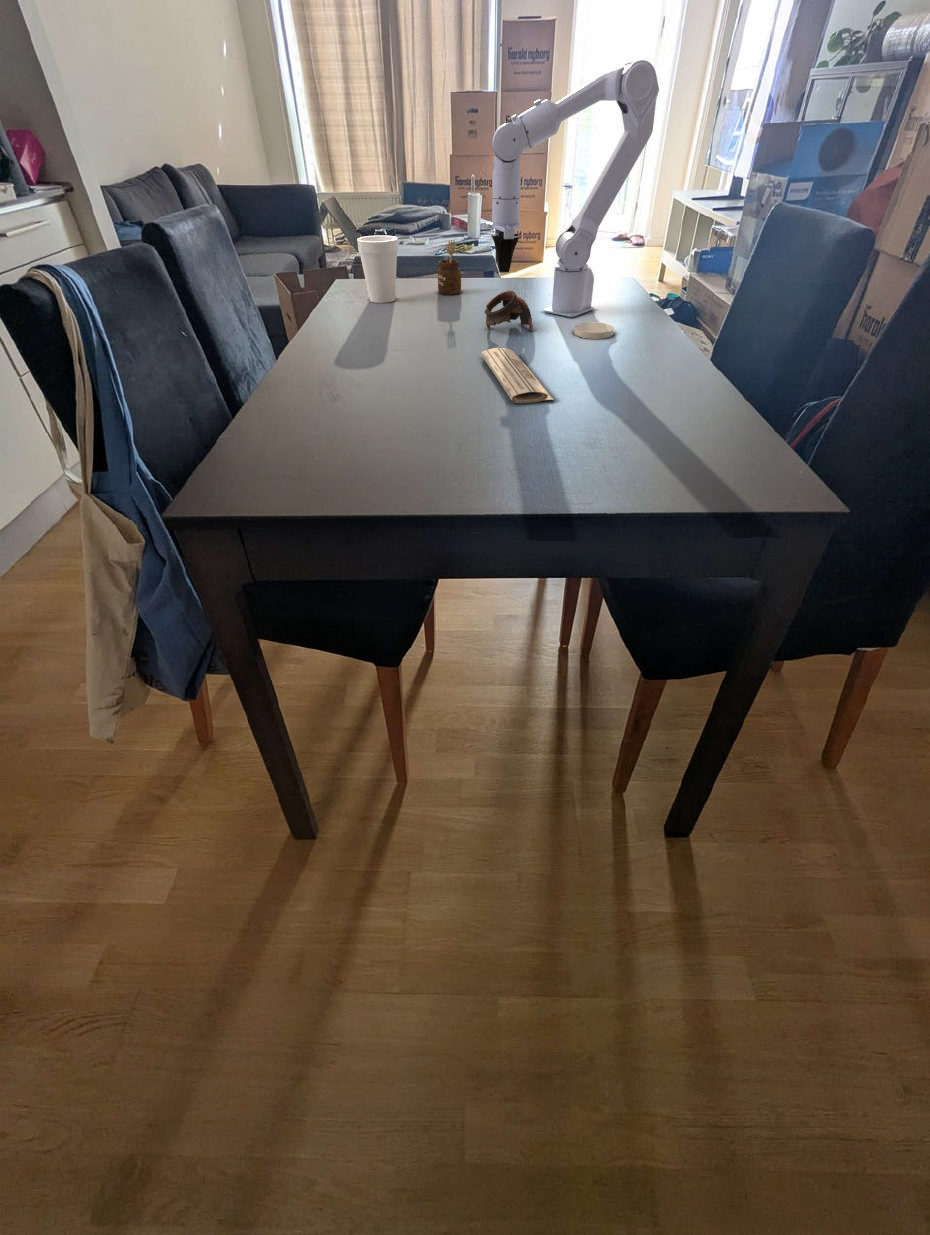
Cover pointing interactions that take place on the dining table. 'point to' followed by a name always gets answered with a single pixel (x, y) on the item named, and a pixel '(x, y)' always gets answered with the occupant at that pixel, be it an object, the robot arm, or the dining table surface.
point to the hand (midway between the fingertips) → (504, 271)
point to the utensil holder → (449, 274)
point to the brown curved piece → (508, 310)
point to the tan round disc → (593, 330)
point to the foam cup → (379, 266)
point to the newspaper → (515, 376)
